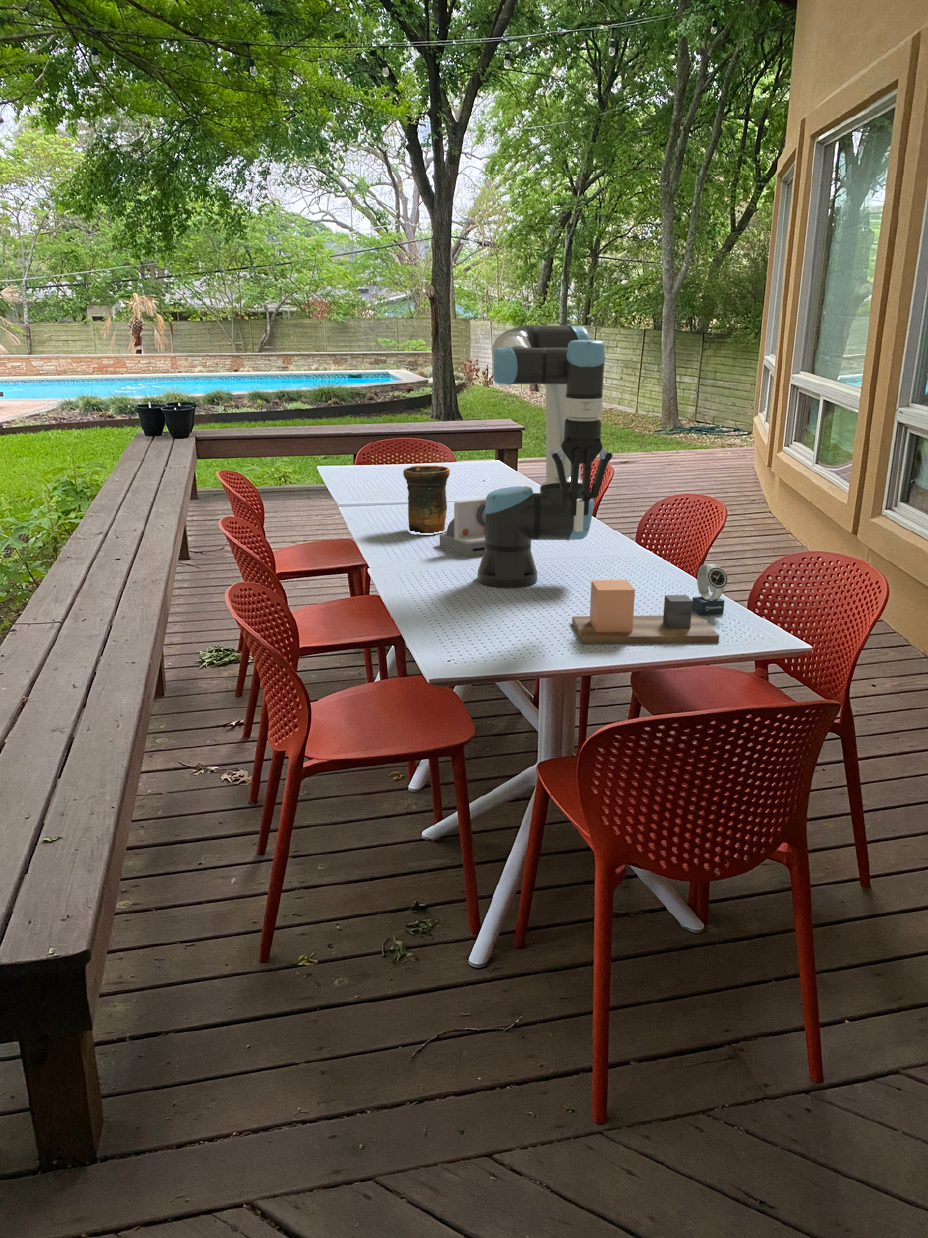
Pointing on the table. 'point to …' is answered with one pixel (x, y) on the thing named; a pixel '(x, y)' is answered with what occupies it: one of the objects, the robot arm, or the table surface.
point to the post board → (654, 627)
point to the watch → (716, 582)
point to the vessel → (426, 497)
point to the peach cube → (612, 605)
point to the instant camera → (466, 529)
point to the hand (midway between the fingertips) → (578, 529)
